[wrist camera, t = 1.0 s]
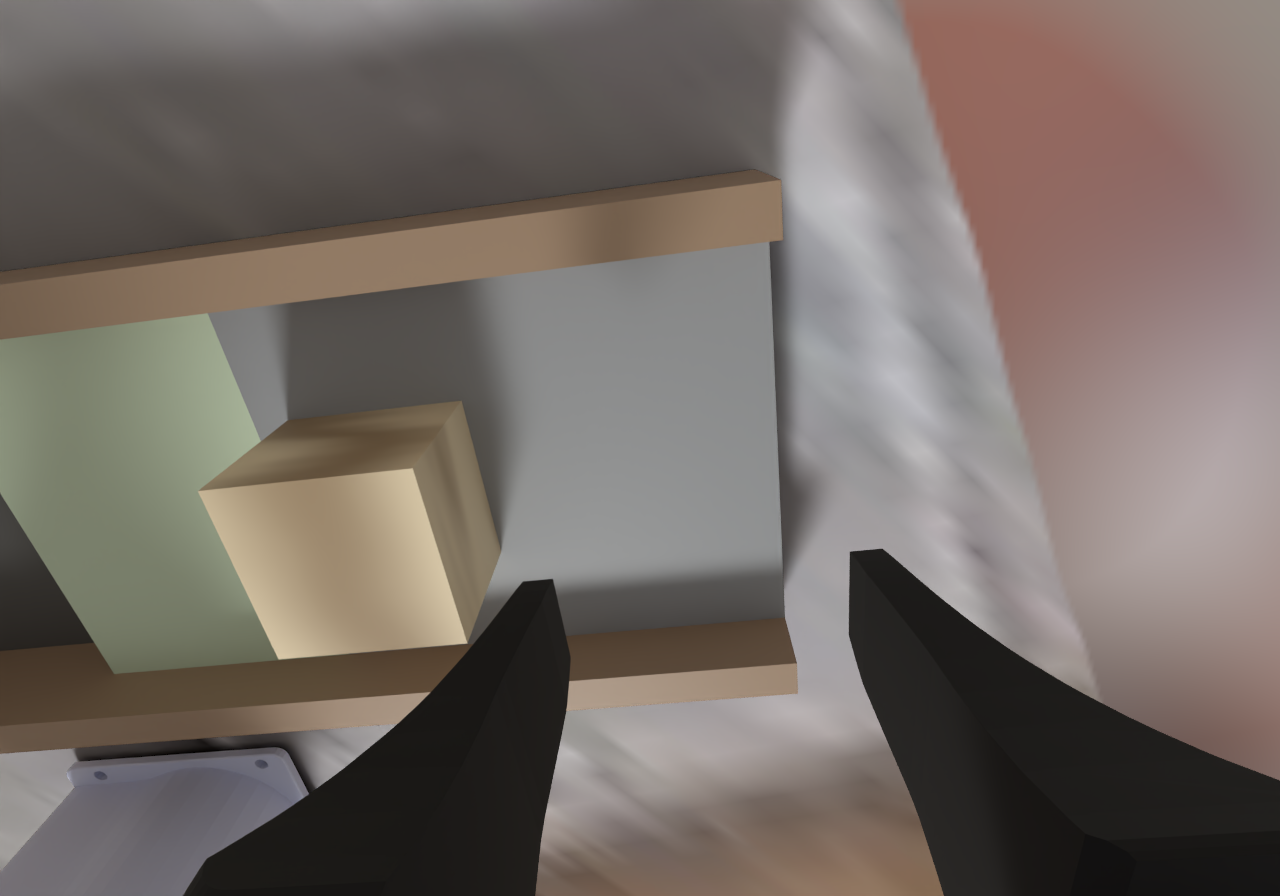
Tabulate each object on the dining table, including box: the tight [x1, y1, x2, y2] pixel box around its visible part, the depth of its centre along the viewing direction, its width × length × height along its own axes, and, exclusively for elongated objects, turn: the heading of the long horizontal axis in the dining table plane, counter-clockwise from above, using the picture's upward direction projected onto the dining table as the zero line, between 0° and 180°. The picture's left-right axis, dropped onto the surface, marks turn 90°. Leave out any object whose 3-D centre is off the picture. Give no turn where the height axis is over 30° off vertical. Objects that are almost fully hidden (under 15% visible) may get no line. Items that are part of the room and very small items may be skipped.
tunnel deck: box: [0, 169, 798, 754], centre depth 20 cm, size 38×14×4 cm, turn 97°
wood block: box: [198, 401, 501, 659], centre depth 17 cm, size 5×5×4 cm
